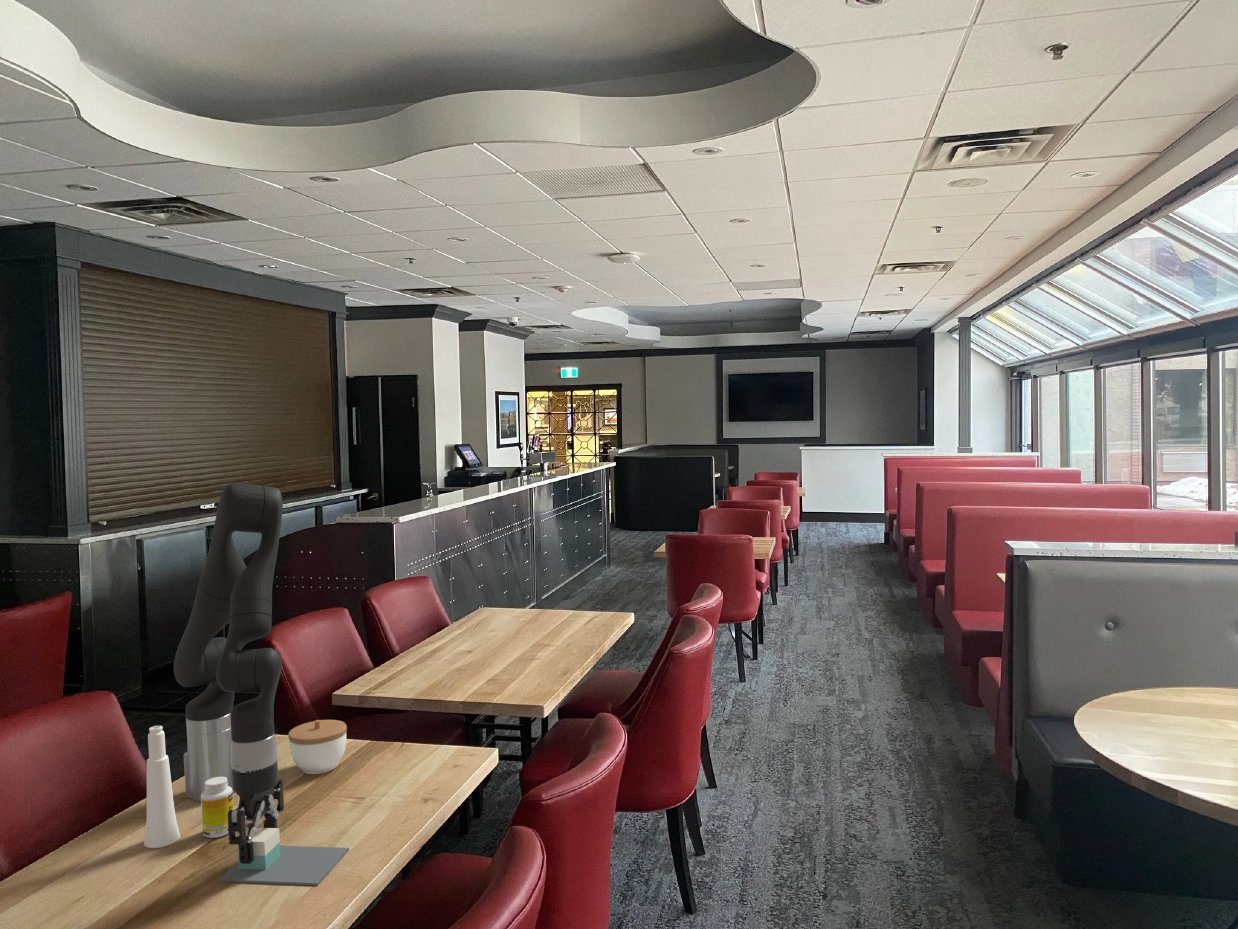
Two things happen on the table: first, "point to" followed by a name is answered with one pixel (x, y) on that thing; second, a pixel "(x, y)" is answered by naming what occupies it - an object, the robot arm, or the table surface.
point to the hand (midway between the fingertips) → (259, 851)
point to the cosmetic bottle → (159, 794)
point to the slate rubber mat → (291, 867)
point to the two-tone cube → (263, 848)
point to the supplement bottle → (216, 807)
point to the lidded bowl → (318, 745)
